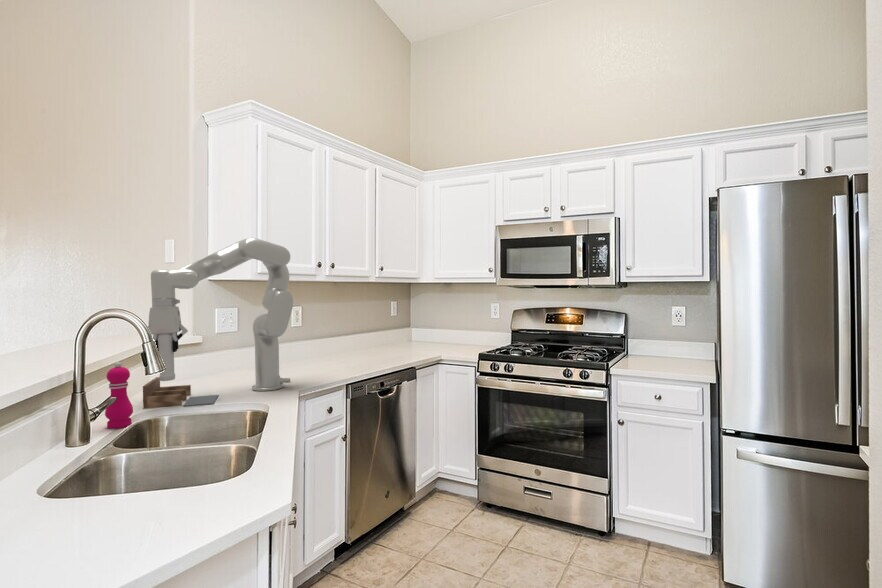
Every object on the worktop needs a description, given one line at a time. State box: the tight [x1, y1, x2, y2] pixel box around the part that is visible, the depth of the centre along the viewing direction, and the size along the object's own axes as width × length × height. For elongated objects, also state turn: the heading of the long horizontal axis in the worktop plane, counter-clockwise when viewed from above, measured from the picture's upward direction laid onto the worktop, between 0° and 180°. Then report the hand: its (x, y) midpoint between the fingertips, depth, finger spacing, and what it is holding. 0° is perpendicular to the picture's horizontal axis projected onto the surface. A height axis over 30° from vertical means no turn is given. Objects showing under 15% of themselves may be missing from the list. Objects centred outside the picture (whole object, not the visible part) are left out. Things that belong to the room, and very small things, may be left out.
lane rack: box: [142, 376, 192, 410], centre depth 178 cm, size 12×19×8 cm, turn 18°
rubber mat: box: [182, 394, 220, 408], centre depth 177 cm, size 10×14×1 cm
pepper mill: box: [104, 361, 134, 430], centre depth 146 cm, size 7×7×20 cm
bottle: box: [157, 334, 176, 382], centre depth 174 cm, size 5×5×25 cm
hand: (166, 351), depth 174 cm, fingers closed on bottle, 5 cm apart
